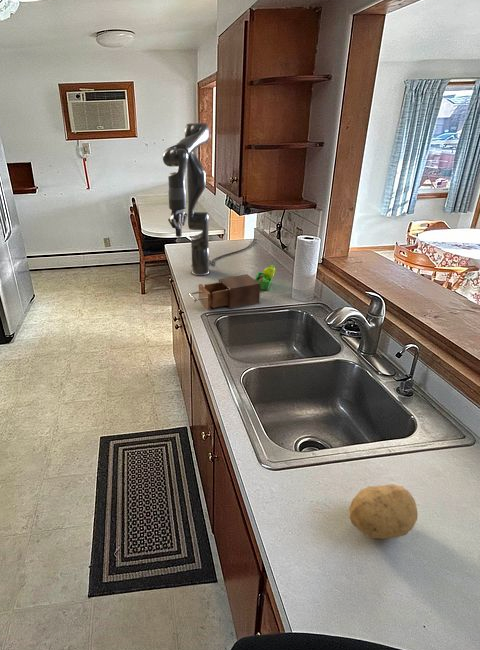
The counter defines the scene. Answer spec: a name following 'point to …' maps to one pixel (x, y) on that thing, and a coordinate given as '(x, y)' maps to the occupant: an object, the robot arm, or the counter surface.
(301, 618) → the counter surface
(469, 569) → the counter surface
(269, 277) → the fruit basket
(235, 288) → the cabinet
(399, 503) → the potato
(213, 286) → the drawer
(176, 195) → the robot arm
